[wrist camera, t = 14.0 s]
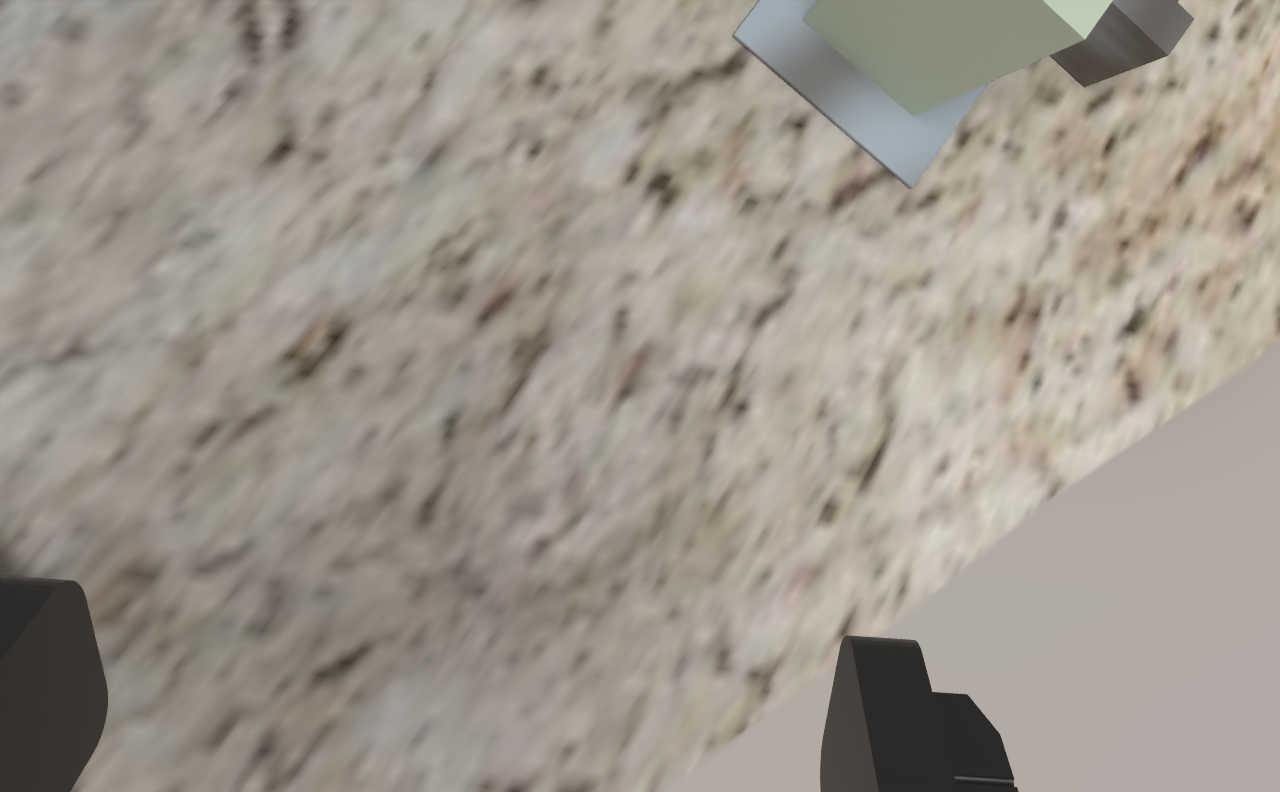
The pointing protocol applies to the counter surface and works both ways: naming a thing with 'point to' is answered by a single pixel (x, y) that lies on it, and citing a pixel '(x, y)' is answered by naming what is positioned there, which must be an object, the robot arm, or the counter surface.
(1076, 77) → the dock
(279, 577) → the counter surface
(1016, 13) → the green block
